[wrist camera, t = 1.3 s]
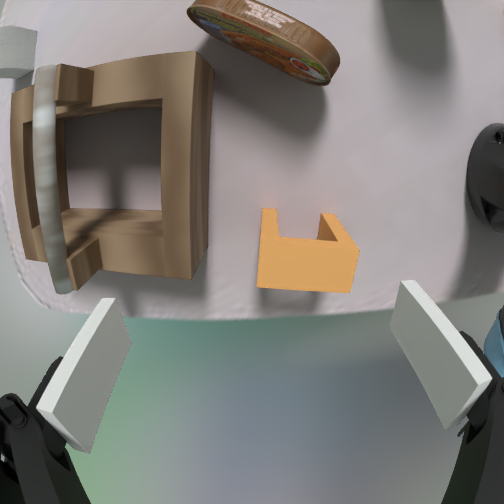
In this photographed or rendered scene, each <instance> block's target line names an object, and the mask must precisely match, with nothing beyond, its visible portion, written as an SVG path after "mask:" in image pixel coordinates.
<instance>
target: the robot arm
mask: <svg viewBox="0 0 504 504" xmlns="http://www.w3.org/2000/svg"><path fill="white" fill-rule="evenodd" d="M467 182H468V192H469V197H470V201H471V205H472V207H473V210H474V212H475V214H476V215H477V217H478V218H479V219H480V220H481V222H483V223H484V224H485V225H487V226H488V227H490V228H492V229H493V230H495V231H498V232H501V233H504V124H502V123H495V124H491V125H489V126H487V127H486V128H485V129H484V130H482V132H481V133H480V134H479V135H478V137H477V139H476V141H475V143H474V145H473V147H472V150H471V154H470V158H469V164H468V175H467ZM389 328H390V329H391V331H392V333H393V334H394V336H395V338H396V339H397V341H398V343H399V344H400V346H401V348H402V350H403V351H404V353H405V355H406V357H407V358H408V360H409V362H410V364H411V365H412V367H413V369H414V371H415V373H416V374H417V376H418V378H419V380H420V382H421V384H422V386H423V387H424V389H425V391H426V393H427V395H428V397H429V399H430V401H431V403H432V405H433V407H434V409H435V411H436V413H437V415H438V417H439V419H440V421H441V423H442V425H443V427H444V429H445V430H447V429H449V428H452V427H454V426H456V425H458V424H460V423H461V421H462V420H463V419H464V417H465V416H466V415H467V417H468V419H469V421H468V422H467V423H466V425H465V426H464V427H463V428H462V429H461V430H460V432H459V433H458V436H460V435H461V434H462V433H463V432H464V435H463V439H462V443H461V447H460V451H459V454H458V458H457V461H456V464H455V467H454V471H453V474H452V476H451V479H450V482H449V485H448V488H447V490H446V493H445V495H444V498H443V500H442V503H441V504H504V305H503V307H502V309H500V311H499V312H498V313H497V317H496V320H495V322H494V324H493V326H492V328H491V330H490V331H489V333H488V335H487V337H486V339H485V342H484V354H483V352H482V350H481V349H480V348H479V347H478V345H477V344H476V342H475V341H474V340H473V339H472V338H471V337H470V336H469V335H467V334H466V333H464V332H463V331H461V332H458V331H457V330H456V328H455V327H454V326H453V325H452V323H451V322H450V321H449V320H448V319H447V317H446V316H445V315H444V314H443V312H442V311H441V310H440V309H439V308H438V307H437V305H436V304H435V303H434V302H433V301H432V300H431V298H430V297H429V296H428V295H427V294H426V293H425V292H424V290H423V289H422V288H421V287H420V286H419V285H418V284H417V283H416V282H415V280H406V281H401V282H400V286H399V291H398V295H397V299H396V304H395V308H394V311H393V315H392V319H391V323H390V326H389ZM131 344H132V342H131V339H130V337H129V334H128V332H127V329H126V326H125V324H124V321H123V318H122V315H121V312H120V310H119V307H118V304H117V301H116V298H102V299H101V300H100V302H99V303H98V305H97V306H96V308H95V309H94V311H93V312H92V314H91V315H90V317H89V318H88V320H87V321H86V323H85V324H84V326H83V327H82V329H81V330H80V332H79V334H78V335H77V337H76V338H75V340H74V341H73V343H72V345H71V346H70V348H69V350H68V351H67V353H66V355H65V356H64V357H59V358H58V359H57V360H55V361H54V362H53V363H52V364H51V366H50V367H49V369H48V371H47V372H46V375H45V376H44V377H43V380H42V382H41V383H40V384H39V386H38V388H37V390H36V392H35V394H34V395H33V397H32V399H31V401H30V403H29V405H28V406H26V405H25V404H24V403H23V401H22V400H21V399H20V398H19V397H18V396H17V395H16V394H13V393H10V394H6V395H4V396H2V397H1V398H0V504H91V503H90V501H89V499H88V497H87V495H86V492H85V490H84V488H83V486H82V484H81V482H80V480H79V477H78V476H77V473H76V471H75V468H74V466H73V463H72V461H71V458H70V456H69V453H68V451H67V450H66V448H65V445H66V442H67V443H68V444H69V445H70V446H71V447H72V448H74V449H75V450H79V451H82V452H85V453H89V454H90V452H91V449H92V446H93V443H94V440H95V436H96V434H97V430H98V428H99V425H100V422H101V420H102V417H103V414H104V411H105V409H106V406H107V403H108V401H109V398H110V395H111V393H112V390H113V387H114V385H115V382H116V380H117V377H118V375H119V372H120V370H121V367H122V365H123V363H124V360H125V357H126V355H127V353H128V350H129V348H130V346H131ZM1 454H2V455H3V456H4V457H5V460H4V462H3V461H2V460H1Z"/></svg>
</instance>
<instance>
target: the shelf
mask: <svg viewBox="0 0 504 504" xmlns="http://www.w3.org/2000/svg"><path fill="white" fill-rule="evenodd" d="M213 80H214V69H213V68H212V67H211V66H210V65H209V64H208V63H207V62H206V61H205V60H204V59H203V58H202V57H201V56H200V54H199V53H198V52H197V51H187V52H175V53H165V54H157V55H149V56H142V57H136V58H130V59H124V60H119V61H114V62H109V63H105V64H100V65H96V66H92V67H88V68H80V67H75V66H70V65H65V64H59V65H47V66H42V67H39V68H38V69H36V74H35V84H34V85H31V86H29V87H26V88H24V89H21V90H19V91H16V92H14V93H12V98H11V118H10V147H11V167H12V179H13V189H14V197H15V205H16V211H17V218H18V223H19V229H20V234H21V239H22V243H23V248H24V252H25V256H26V259H28V260H35V261H41V262H48V265H49V269H50V273H51V277H52V281H53V285H54V287H55V291H56V293H58V294H67V293H70V292H71V291H73V290H76V291H78V290H79V289H80V288H81V287H82V286H83V285H84V284H85V283H86V282H87V281H88V280H89V279H90V278H91V277H92V276H93V275H94V274H95V273H96V272H97V271H98V270H107V271H115V272H124V273H132V274H141V275H150V276H159V277H169V278H178V279H188V280H192V278H193V276H194V274H195V272H196V269H197V267H198V265H199V263H200V261H201V259H202V257H203V255H204V253H205V251H206V249H207V247H208V191H209V156H210V131H211V112H212V95H213ZM149 107H162V126H161V202H162V211H155V210H126V209H80V208H69V199H68V189H67V176H66V158H65V119H69V118H75V117H80V116H86V115H92V114H98V113H105V112H112V111H120V110H128V109H138V108H149Z"/></svg>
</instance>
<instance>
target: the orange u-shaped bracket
mask: <svg viewBox="0 0 504 504" xmlns="http://www.w3.org/2000/svg"><path fill="white" fill-rule="evenodd" d="M359 252H360V250H359V248H358V247H357V245H356V244H355V243H354V241H353V240H352V238H351V237H350V235H349V234H348V233H347V231H346V230H345V229H344V227H343V226H342V224H341V223H340V222H339V220H338V219H337V218H336V216H335V215H334V214H325V213H321V219H320V226H319V232H318V239H317V240H313V239H301V238H289V237H279V231H278V220H277V210H276V209H269V208H263V210H262V224H261V237H260V250H259V263H258V276H257V287H260V288H274V289H288V290H304V291H320V292H339V293H350V290H351V286H352V282H353V278H354V274H355V270H356V265H357V261H358V256H359Z"/></svg>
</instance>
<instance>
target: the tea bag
mask: <svg viewBox="0 0 504 504" xmlns="http://www.w3.org/2000/svg"><path fill="white" fill-rule="evenodd" d="M37 32H38V31H34V30H30V29H25V28H21V27H16V26H5V27H0V78H16V79H19V78H21V77H22V76H24V75H26V74H27V73H29V72H31V71H33V70H34V61H35V49H36V40H37Z"/></svg>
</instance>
